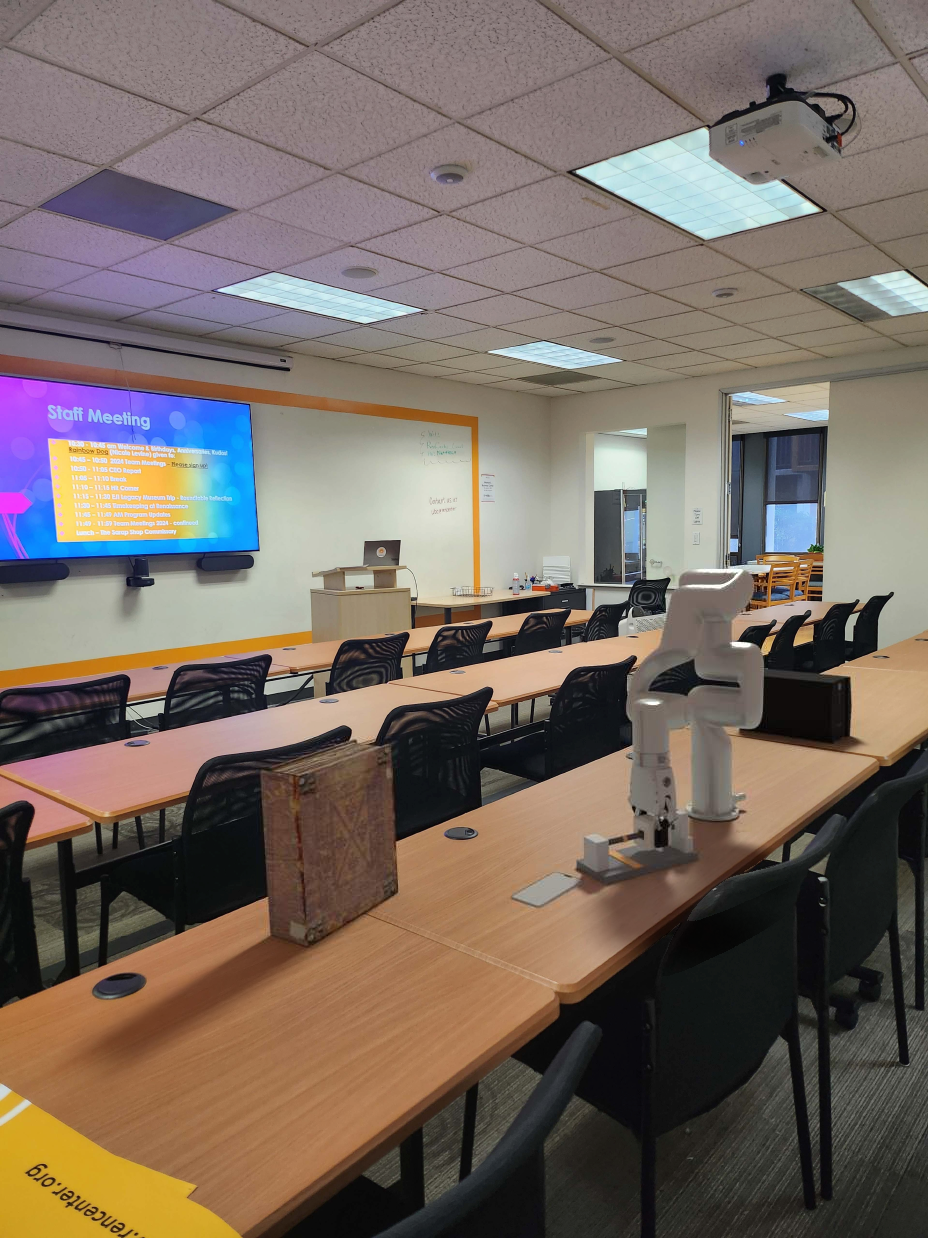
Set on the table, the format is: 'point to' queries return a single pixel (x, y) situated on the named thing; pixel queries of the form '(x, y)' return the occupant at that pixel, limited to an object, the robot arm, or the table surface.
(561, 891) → the smartphone
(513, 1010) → the table surface
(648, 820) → the notched cream block
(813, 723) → the uninterruptible power supply
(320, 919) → the book
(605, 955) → the table surface
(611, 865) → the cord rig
